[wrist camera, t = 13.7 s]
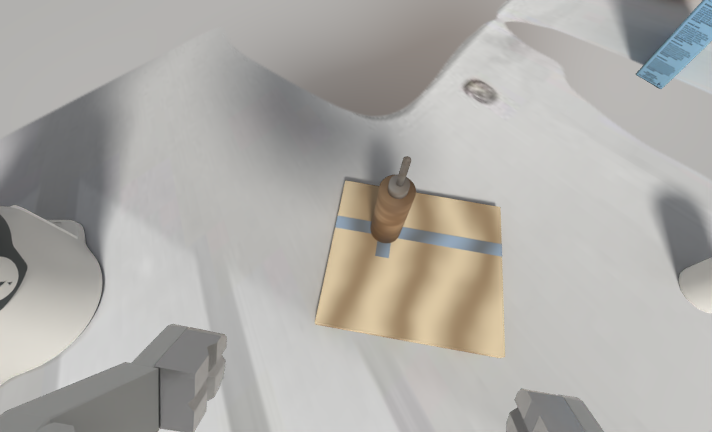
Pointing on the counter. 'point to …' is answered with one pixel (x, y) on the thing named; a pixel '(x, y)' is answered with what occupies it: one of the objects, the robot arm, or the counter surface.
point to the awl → (393, 205)
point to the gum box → (680, 47)
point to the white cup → (698, 285)
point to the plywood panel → (418, 274)
